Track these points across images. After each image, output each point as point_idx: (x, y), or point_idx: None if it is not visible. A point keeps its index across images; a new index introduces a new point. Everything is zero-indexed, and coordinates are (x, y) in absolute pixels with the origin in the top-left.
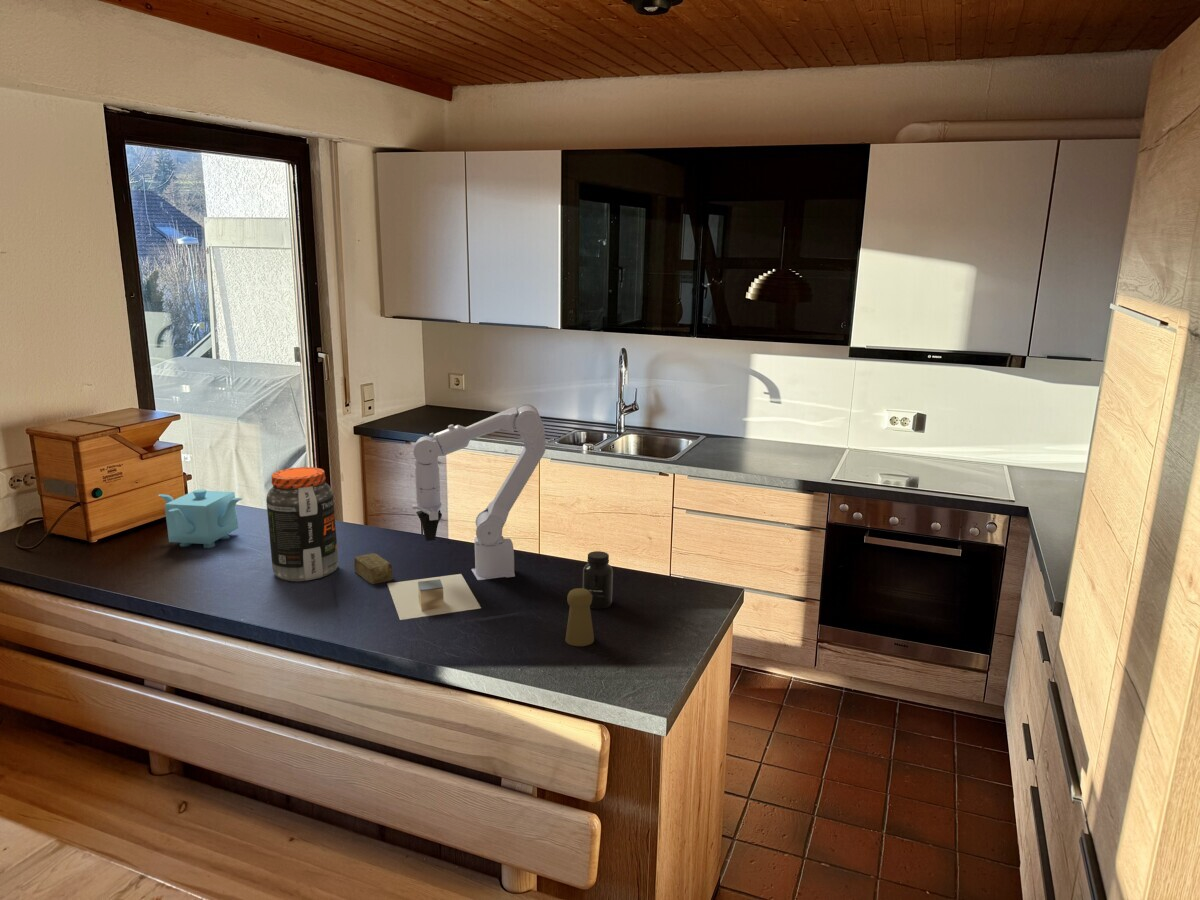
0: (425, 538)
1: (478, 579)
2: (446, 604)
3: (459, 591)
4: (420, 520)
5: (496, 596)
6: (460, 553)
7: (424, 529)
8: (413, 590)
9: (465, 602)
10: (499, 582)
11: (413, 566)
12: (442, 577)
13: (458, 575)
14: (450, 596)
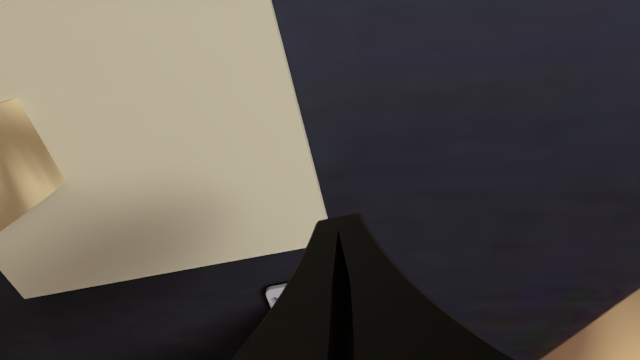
0: (340, 221)
1: (269, 292)
2: None
3: (155, 240)
4: (404, 330)
5: (149, 326)
6: (586, 230)
7: (279, 296)
8: (149, 62)
9: (57, 259)
10: None
11: (507, 33)
12: (302, 179)
13: None
14: (102, 214)
